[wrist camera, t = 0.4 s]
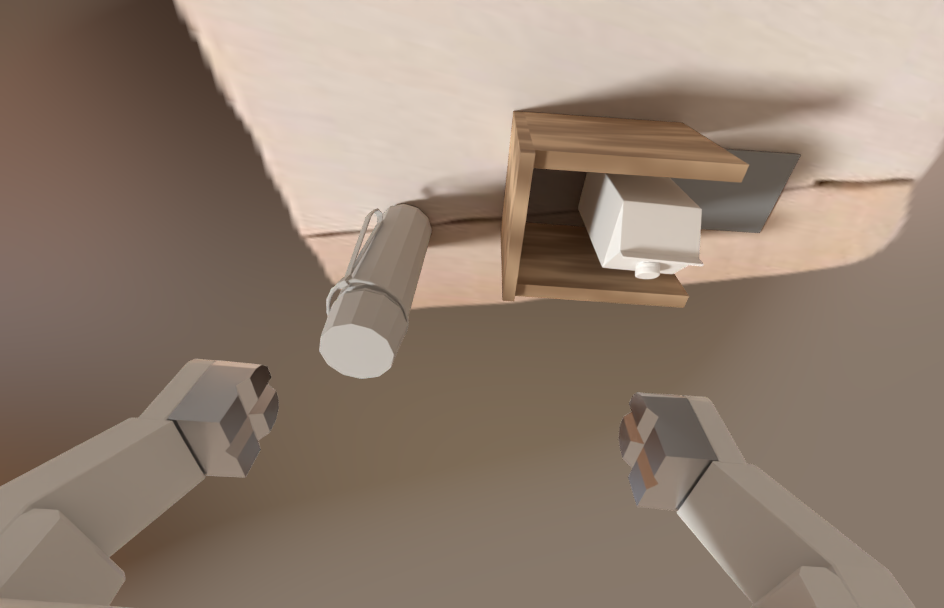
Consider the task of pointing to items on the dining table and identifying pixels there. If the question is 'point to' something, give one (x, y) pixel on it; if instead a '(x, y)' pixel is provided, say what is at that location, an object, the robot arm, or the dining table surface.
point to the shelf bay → (569, 247)
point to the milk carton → (641, 223)
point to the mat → (742, 192)
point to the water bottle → (376, 294)
